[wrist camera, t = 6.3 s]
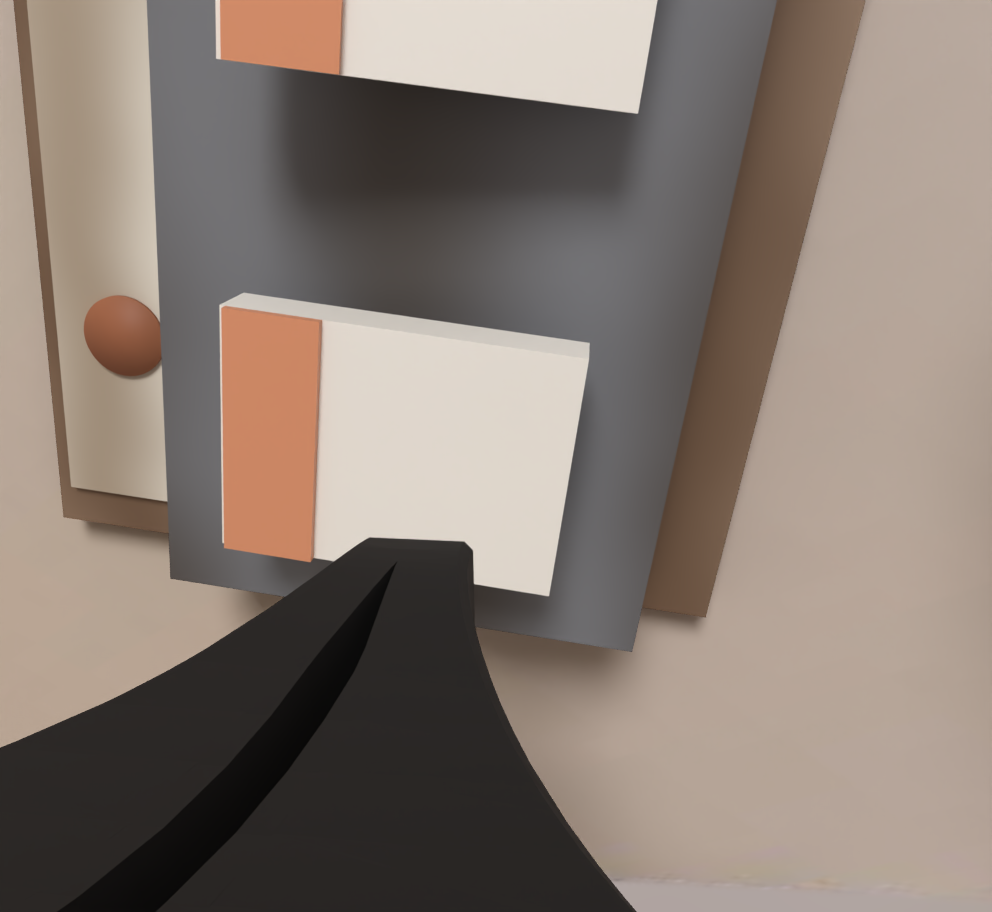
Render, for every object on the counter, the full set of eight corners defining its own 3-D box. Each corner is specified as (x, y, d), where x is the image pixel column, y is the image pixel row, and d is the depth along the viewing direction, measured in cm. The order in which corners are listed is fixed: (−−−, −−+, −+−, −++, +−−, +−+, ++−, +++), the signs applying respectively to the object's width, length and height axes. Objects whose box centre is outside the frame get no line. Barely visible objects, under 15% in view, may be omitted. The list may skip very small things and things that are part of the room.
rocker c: (589, 335, 14) (588, 361, 13) (553, 555, 16) (548, 600, 15) (254, 286, 15) (215, 307, 13) (253, 507, 16) (218, 547, 15)
